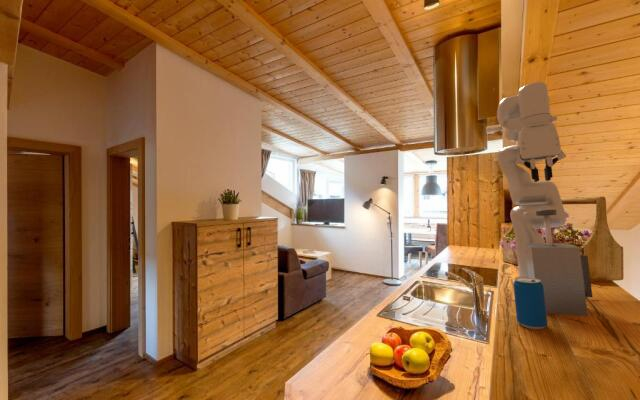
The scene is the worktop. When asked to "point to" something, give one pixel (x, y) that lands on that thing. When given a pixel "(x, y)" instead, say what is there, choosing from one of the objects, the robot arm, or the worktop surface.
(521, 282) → the beverage can
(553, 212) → the plunger
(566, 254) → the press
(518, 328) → the worktop surface
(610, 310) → the worktop surface
